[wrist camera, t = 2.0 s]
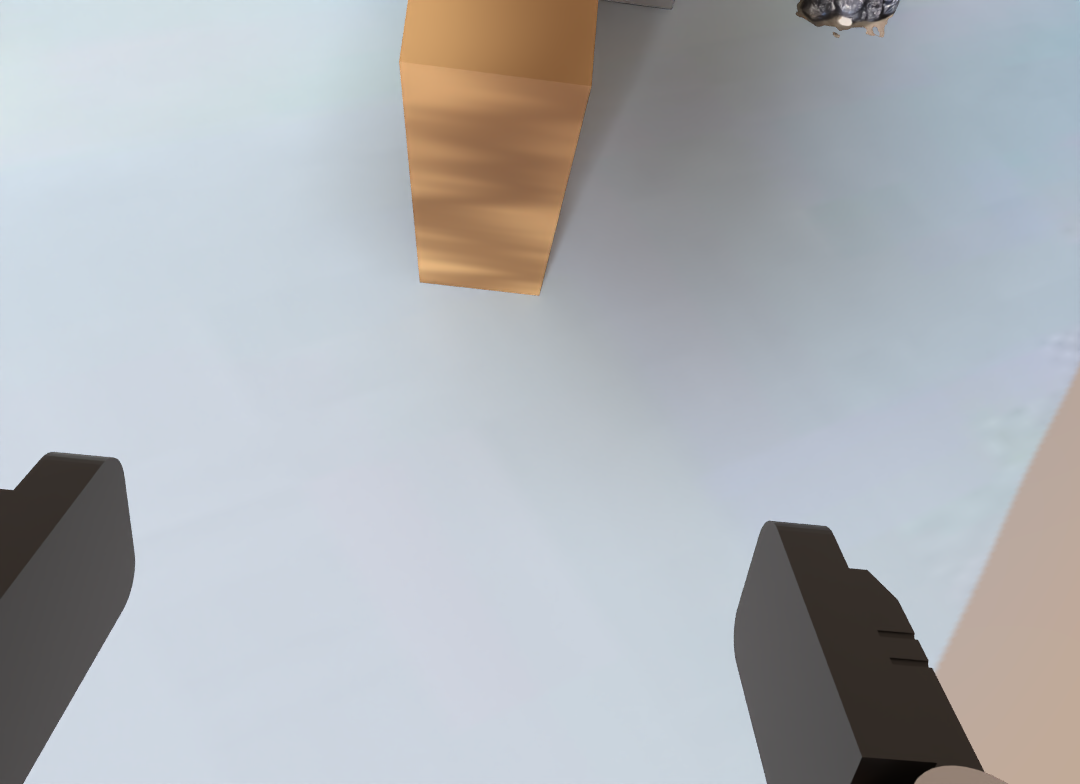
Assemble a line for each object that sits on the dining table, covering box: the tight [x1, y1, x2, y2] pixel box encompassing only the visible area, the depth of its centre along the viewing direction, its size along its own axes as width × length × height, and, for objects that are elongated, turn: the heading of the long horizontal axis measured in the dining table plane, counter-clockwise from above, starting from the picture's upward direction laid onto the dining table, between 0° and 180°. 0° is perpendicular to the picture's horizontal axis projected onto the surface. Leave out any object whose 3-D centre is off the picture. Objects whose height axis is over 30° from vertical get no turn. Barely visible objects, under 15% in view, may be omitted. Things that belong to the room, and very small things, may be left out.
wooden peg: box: [399, 0, 598, 296], centre depth 25 cm, size 4×4×12 cm
